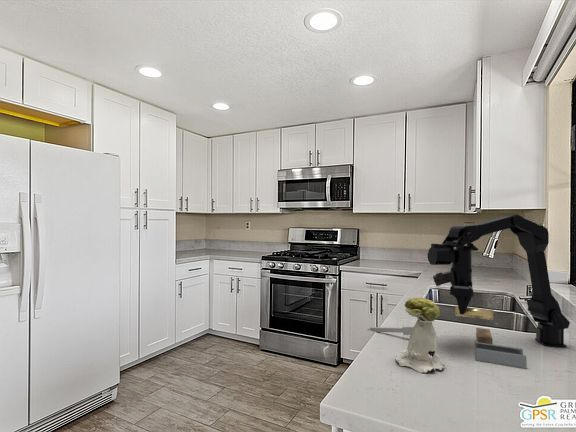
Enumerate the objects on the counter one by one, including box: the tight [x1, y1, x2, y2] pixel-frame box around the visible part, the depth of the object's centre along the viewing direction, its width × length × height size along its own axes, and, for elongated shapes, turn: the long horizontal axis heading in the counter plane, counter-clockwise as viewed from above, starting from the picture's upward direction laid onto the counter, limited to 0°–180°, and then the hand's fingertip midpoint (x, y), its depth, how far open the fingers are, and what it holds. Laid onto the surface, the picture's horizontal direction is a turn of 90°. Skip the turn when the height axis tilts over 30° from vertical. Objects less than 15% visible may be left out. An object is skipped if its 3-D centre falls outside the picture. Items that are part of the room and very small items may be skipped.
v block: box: [475, 341, 528, 369], centre depth 100 cm, size 12×7×3 cm, turn 64°
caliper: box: [367, 326, 414, 336], centre depth 120 cm, size 20×1×6 cm, turn 50°
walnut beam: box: [475, 327, 494, 344], centre depth 112 cm, size 4×10×4 cm, turn 154°
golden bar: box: [454, 305, 494, 321], centre depth 109 cm, size 10×3×3 cm, turn 63°
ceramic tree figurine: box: [395, 297, 446, 374], centre depth 97 cm, size 12×13×18 cm
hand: (461, 313), depth 111 cm, fingers closed on golden bar, 3 cm apart
